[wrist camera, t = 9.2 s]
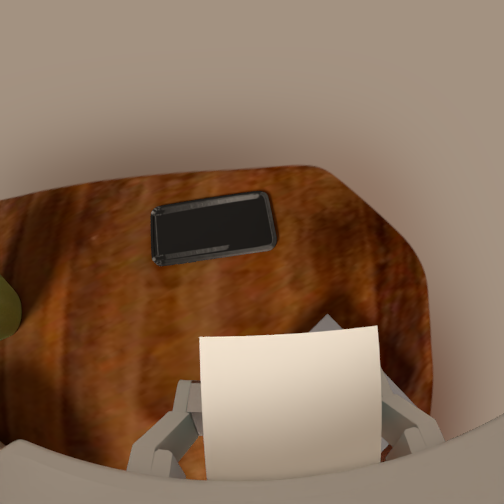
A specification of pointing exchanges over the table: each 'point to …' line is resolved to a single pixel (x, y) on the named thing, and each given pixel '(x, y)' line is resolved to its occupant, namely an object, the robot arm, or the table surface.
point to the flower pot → (8, 309)
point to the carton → (290, 404)
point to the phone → (212, 228)
